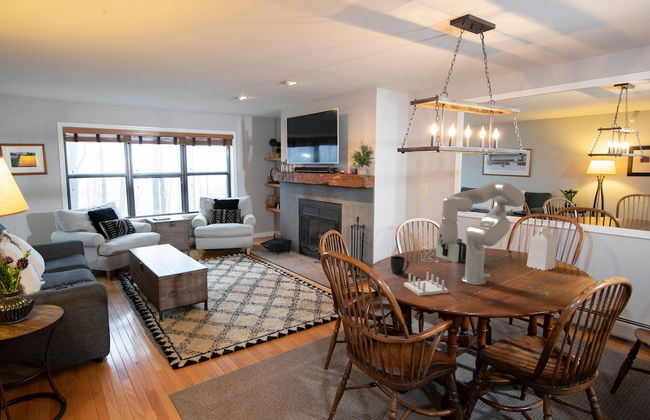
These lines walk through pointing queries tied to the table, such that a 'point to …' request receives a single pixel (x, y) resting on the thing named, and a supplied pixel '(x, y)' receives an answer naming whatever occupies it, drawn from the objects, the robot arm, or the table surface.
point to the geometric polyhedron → (427, 253)
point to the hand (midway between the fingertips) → (446, 255)
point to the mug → (398, 264)
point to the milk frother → (461, 245)
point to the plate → (452, 252)
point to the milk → (542, 250)
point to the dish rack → (426, 286)
